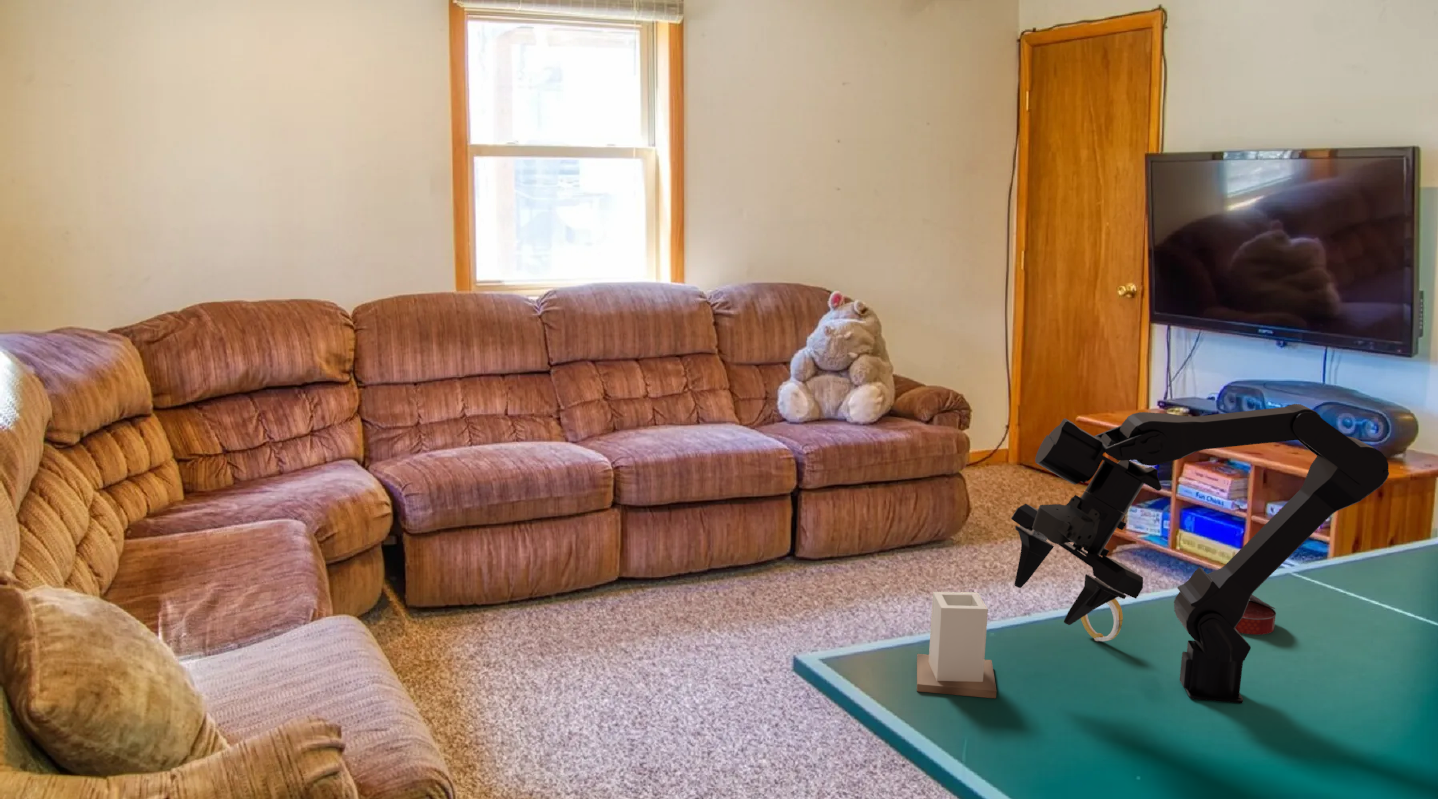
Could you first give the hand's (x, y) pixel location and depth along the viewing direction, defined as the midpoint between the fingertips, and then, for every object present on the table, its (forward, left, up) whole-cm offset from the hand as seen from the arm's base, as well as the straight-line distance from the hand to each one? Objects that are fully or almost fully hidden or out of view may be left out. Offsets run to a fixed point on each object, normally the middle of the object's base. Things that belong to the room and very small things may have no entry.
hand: (1041, 604), depth 150 cm
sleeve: (+10, 0, -10) cm, 15 cm away
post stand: (+10, 0, -11) cm, 15 cm away
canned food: (-34, -30, -12) cm, 46 cm away
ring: (-11, -18, -11) cm, 24 cm away
